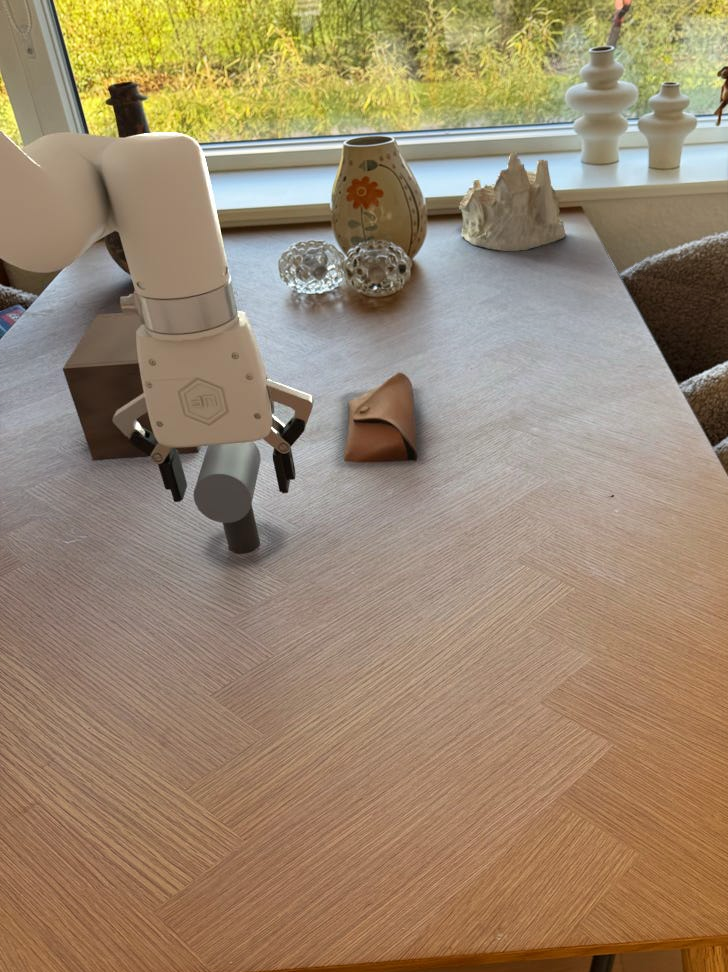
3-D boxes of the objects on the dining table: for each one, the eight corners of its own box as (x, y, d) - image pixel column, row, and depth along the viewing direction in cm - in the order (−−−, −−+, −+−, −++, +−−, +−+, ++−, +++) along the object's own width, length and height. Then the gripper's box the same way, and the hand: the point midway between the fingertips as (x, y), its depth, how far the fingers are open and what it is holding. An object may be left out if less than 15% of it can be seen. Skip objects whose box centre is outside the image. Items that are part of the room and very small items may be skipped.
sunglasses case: (343, 400, 117) (366, 353, 114) (395, 422, 120) (419, 377, 116) (340, 471, 103) (366, 420, 100) (399, 496, 106) (426, 447, 103)
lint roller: (209, 580, 90) (181, 476, 83) (221, 534, 96) (195, 434, 89) (273, 575, 90) (251, 471, 83) (281, 529, 96) (260, 429, 89)
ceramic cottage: (577, 236, 165) (573, 140, 156) (498, 259, 159) (489, 161, 150) (527, 222, 176) (520, 131, 167) (451, 243, 170) (440, 151, 161)
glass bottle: (229, 286, 154) (188, 87, 136) (115, 301, 150) (58, 100, 133) (223, 253, 167) (185, 69, 149) (117, 266, 164) (66, 79, 146)
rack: (92, 460, 109) (57, 355, 101) (122, 399, 122) (93, 301, 114) (198, 452, 110) (171, 347, 102) (217, 393, 122) (194, 295, 114)
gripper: (69, 331, 74) (131, 519, 85) (291, 314, 75) (325, 503, 86) (92, 298, 80) (147, 477, 91) (298, 282, 81) (328, 463, 91)
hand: (233, 490), depth 88 cm, fingers open, 9 cm apart
